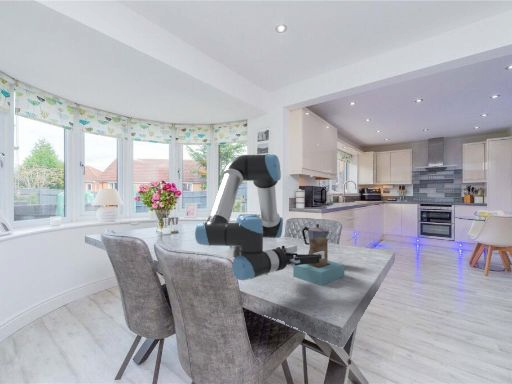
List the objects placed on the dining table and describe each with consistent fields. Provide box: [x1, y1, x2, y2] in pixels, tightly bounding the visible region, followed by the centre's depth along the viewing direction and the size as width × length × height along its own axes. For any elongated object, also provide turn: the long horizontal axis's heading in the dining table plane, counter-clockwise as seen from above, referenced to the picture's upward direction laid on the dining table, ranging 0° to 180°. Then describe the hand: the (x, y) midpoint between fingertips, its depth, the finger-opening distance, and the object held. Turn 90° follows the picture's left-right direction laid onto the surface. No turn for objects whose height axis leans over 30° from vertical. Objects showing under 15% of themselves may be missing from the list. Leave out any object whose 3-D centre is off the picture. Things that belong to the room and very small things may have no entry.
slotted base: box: [292, 260, 345, 286], centre depth 104 cm, size 14×17×5 cm
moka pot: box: [301, 223, 330, 254], centre depth 124 cm, size 10×15×20 cm, turn 53°
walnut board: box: [309, 237, 329, 268], centre depth 104 cm, size 4×7×15 cm, turn 131°
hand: (309, 251), depth 99 cm, fingers open, 13 cm apart
